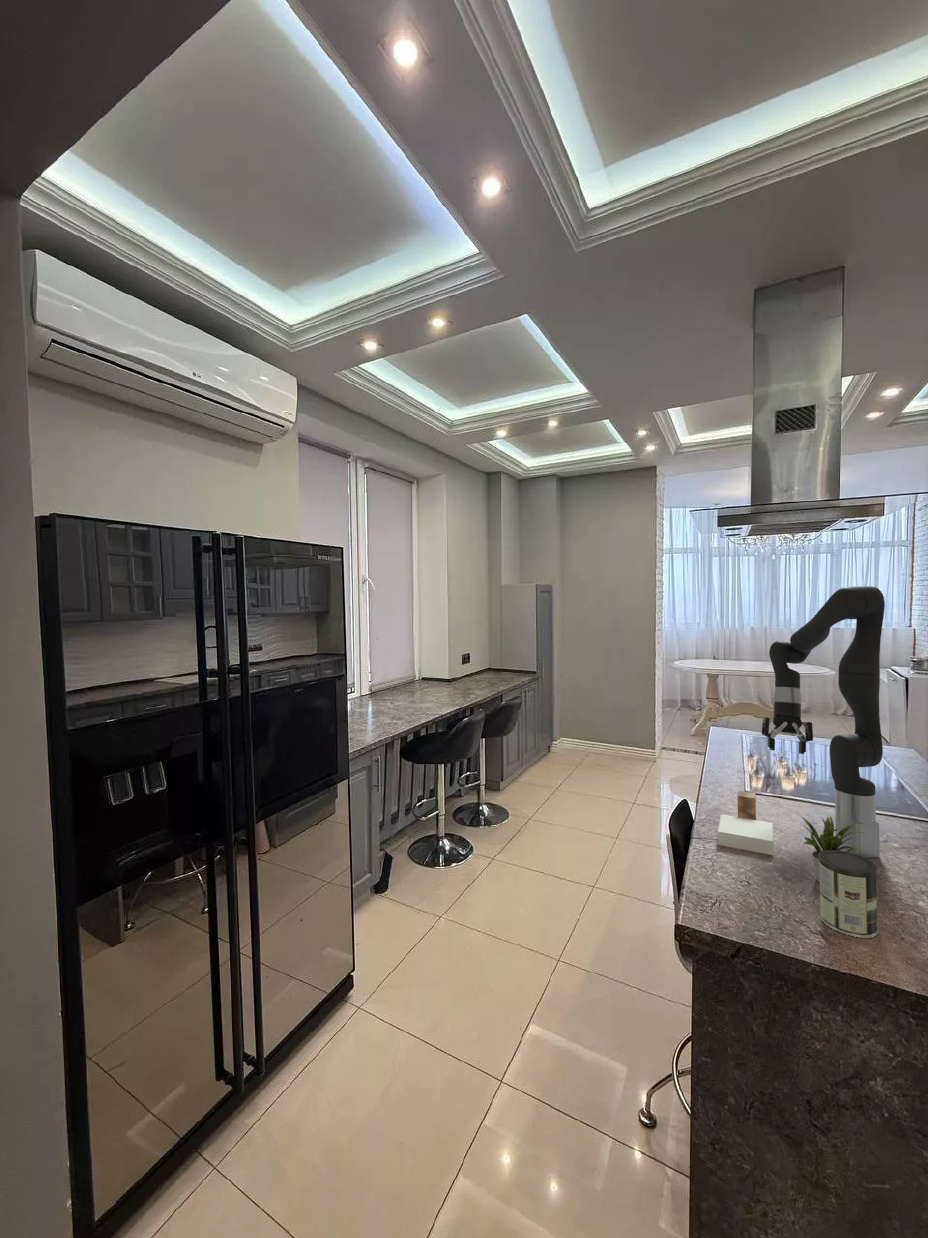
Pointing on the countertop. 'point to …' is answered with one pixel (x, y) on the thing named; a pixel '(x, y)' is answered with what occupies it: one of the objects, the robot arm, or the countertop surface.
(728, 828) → the cream base
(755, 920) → the countertop surface
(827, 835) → the house plant
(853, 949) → the countertop surface
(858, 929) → the coffee can
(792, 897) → the countertop surface
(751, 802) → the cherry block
